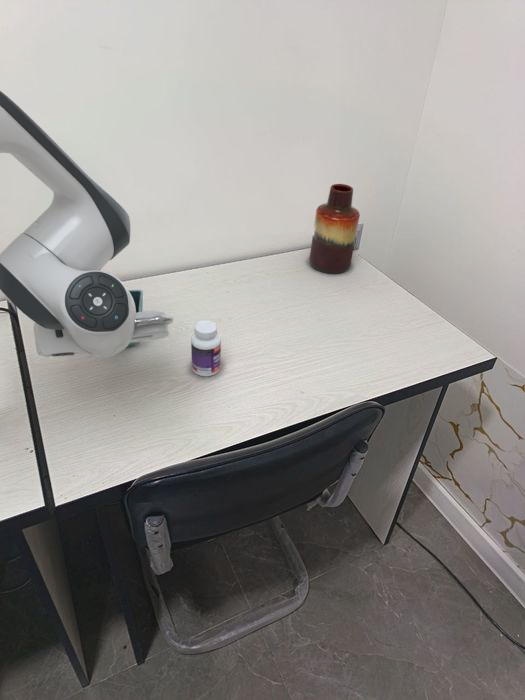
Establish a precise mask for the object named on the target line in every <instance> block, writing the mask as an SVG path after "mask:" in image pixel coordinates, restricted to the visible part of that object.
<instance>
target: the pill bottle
mask: <svg viewBox="0 0 525 700" xmlns="http://www.w3.org/2000/svg"><path fill="white" fill-rule="evenodd" d="M221 340H222V339H221V336H220V334H219V333H218V326H217V324H216V323H215V322H214V321H212V320H207V319H205V320H199V321H198V322H196V323H195V325H194V333H193V334H192V335H191V338H190V351H191V369H192V371H193V373H195V374H196V375H197V376H201V377H211V376H214V375H217V374H218V373H219V372H220V369H221V356H222V355H221V353H222V352H221V351H222V349H221V347H222V341H221Z"/></svg>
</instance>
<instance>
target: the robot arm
mask: <svg viewBox="0 0 525 700" xmlns="http://www.w3.org/2000/svg"><path fill="white" fill-rule="evenodd" d="M0 154H10V155H11V156H12V157H13V158H15V159H16V160H17V161H18V162H19V163H20V164H21V165H22V166H23V167H25V168H26V170H28V171H29V172H30V173H31V174H32V175H34V176H35V177H36V178H37V179H38V180H40V181H41V183H43V184H44V185H45V186H46V187H47V188H48V189H49V190H51V191H52V192H53V198H52V201H51V203H50V205H49V206H48V208H47V209H45V210H44V211H43V212H42V213H41V214H40V216H38V217H37V218H36V219H35V220H34V221H33V222H32V223H31V224H30V225H28V227H27V228H26V229H24V231H23V232H21V233H20V234H19V235H17V237H16V238H15V239H13V240H12V241H11V242H10V243H9V244H8V245H7V246H6V247H5V248H4V249H3V250H2V252H0V291H1V292H2V293H3V294H4V296H6V298H8V299H9V301H10V302H11V303H12V304H13V305H14V306H15V307H16V308H17V309H18V310H19V311H20V312H21V313H23V314H24V315H25V316H26V317H27V318H29V319H30V320H32V321H33V322H34V323H33V334H34V343H35V348H36V353H37V355H38V356H43V357H46V358H50V357H63V356H83V357H96V358H109V357H114V356H116V355H118V354H120V353H122V352H123V351H124V350H125V349H126V348H127V347H129V346H128V344H129V343H132V342H137V343H139V342H145V341H154V340H160V339H165V338H168V337H169V335H170V329H169V325H171V324H173V322H174V318H173V316H172V315H167V313H166V312H165V311H163V310H160V309H159V310H148V311H147V310H146V311H142V312H137V313H136V308H135V303H134V300H133V297H132V295H131V293H130V292H129V290H130V289H128V287H127V285H126V284H125V283H124V282H123V281H122V280H121V279H119V278H118V277H117V276H115V275H114V274H111V273H110V272H107V271H103V270H102V269H103V268H104V267H105V266H106V265H107V264H108V262H110V261H112V260H113V259H114V258H115V257H116V256H117V255H119V254H120V253H121V252H122V251H123V250H124V249H125V248H126V247H128V246H129V245H130V241H131V219H130V216H129V214H128V212H127V211H126V209H125V208H124V207H123V205H121V203H120V202H119V201H118V200H117V199H116V198H115V197H114V196H112V194H110V193H109V192H107V191H106V190H105V189H103V188H102V187H101V186H100V185H99V184H98V183H97V182H95V180H93V178H91V177H90V176H89V175H88V174H87V173H86V172H85V171H84V170H83V169H82V168H81V166H79V165H78V163H76V161H74V159H73V158H71V157H70V156H69V154H67V153H66V152H65V150H63V149H62V147H60V146H59V145H58V143H56V141H54V140H53V139H52V137H51V136H50V135H49V134H48V133H47V132H45V130H43V128H42V127H41V126H40V125H38V124H37V123H36V122H35V121H34V120H33V119H32V118H31V116H30V115H28V113H26V112H25V111H24V110H23V109H22V108H21V107H20V106H19V105H18V104H17V103H15V102H14V101H13V100H12V99H11V98H10V97H9V96H8V95H6V94H5V93H4V92H3V91H2V90H0Z"/></svg>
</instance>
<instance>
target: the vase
mask: <svg viewBox="0 0 525 700" xmlns="http://www.w3.org/2000/svg"><path fill="white" fill-rule="evenodd" d="M353 196H354V188H353V187H352V186H351V185H348V184H345V183H335V184H332V185H331V186H330V188H329V192H328V197H327V202H325V203H322V204H319V205H317V207H316V210H315V215H314V223H313V230H312V231H313V232H312V238H311V245H310V253H309V260H308V261H309V262H308V263H309V265H310V266H311V267H312V268H313V269H314V270H316V271H318V272H321V273H324V274H330V275H338V274H339V275H340V274H343V273H347V272H348V270H350V268H351V264H352V260H353V259H352V258H353V253H354V250H355V249H354V248H355V243H356V239H357V233H358V228H359V223H360V217H361V213H360V211H359V210H358V209H357V208H356V207H354V206H353Z"/></svg>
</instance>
